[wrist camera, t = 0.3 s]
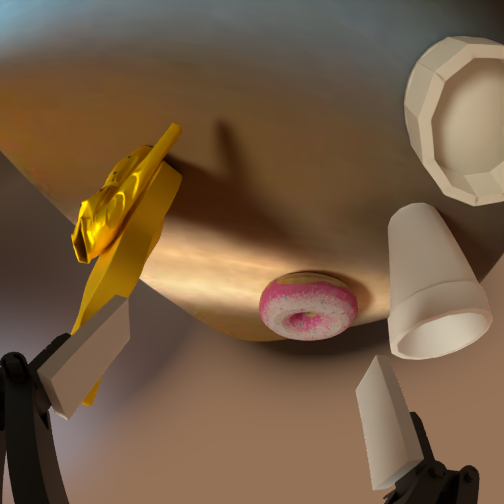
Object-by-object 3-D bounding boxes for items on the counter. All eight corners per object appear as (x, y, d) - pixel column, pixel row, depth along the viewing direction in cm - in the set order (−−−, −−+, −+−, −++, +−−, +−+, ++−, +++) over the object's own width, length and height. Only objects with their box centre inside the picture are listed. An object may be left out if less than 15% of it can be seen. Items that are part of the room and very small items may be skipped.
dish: (426, 6, 10) (451, 7, 8) (540, 86, 10) (566, 104, 7) (381, 152, 21) (393, 177, 19) (489, 194, 21) (505, 220, 18)
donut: (354, 259, 32) (357, 294, 29) (357, 313, 41) (358, 342, 38) (248, 268, 36) (241, 302, 33) (274, 318, 46) (271, 346, 42)
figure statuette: (176, 92, 20) (-20, 348, 6) (239, 153, 24) (149, 433, 10) (93, 195, 30) (1, 357, 16) (140, 232, 34) (68, 397, 20)
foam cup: (466, 207, 23) (510, 315, 14) (424, 261, 30) (444, 360, 22) (398, 178, 23) (439, 300, 14) (359, 243, 30) (369, 355, 21)
